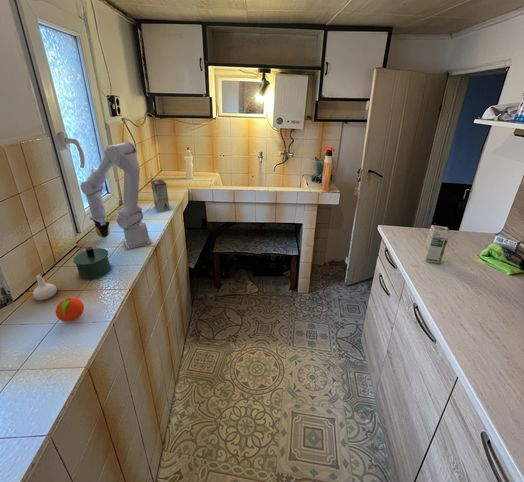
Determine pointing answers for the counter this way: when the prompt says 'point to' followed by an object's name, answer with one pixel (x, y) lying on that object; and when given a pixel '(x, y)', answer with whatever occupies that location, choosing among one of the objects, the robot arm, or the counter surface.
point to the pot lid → (90, 256)
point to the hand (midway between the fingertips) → (103, 233)
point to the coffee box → (160, 195)
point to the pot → (94, 270)
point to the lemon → (100, 233)
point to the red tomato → (69, 309)
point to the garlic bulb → (44, 289)
